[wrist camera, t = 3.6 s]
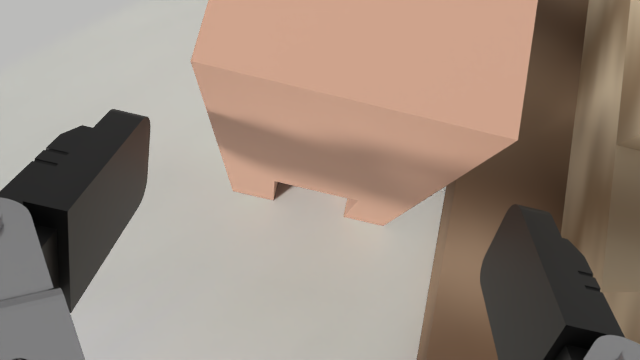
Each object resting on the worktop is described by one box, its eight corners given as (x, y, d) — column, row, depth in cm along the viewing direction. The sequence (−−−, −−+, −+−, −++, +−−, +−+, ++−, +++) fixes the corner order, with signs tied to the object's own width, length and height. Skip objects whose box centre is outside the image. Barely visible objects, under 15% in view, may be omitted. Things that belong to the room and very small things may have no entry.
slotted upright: (383, 225, 22) (518, 140, 10) (233, 190, 21) (190, 61, 10) (397, 153, 22) (538, -6, 11) (251, 119, 22) (233, -84, 10)
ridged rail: (662, 533, 20) (871, 658, 13) (397, 476, 20) (467, 573, 13) (695, 42, 25) (865, -60, 18) (480, -13, 24) (566, -139, 17)
